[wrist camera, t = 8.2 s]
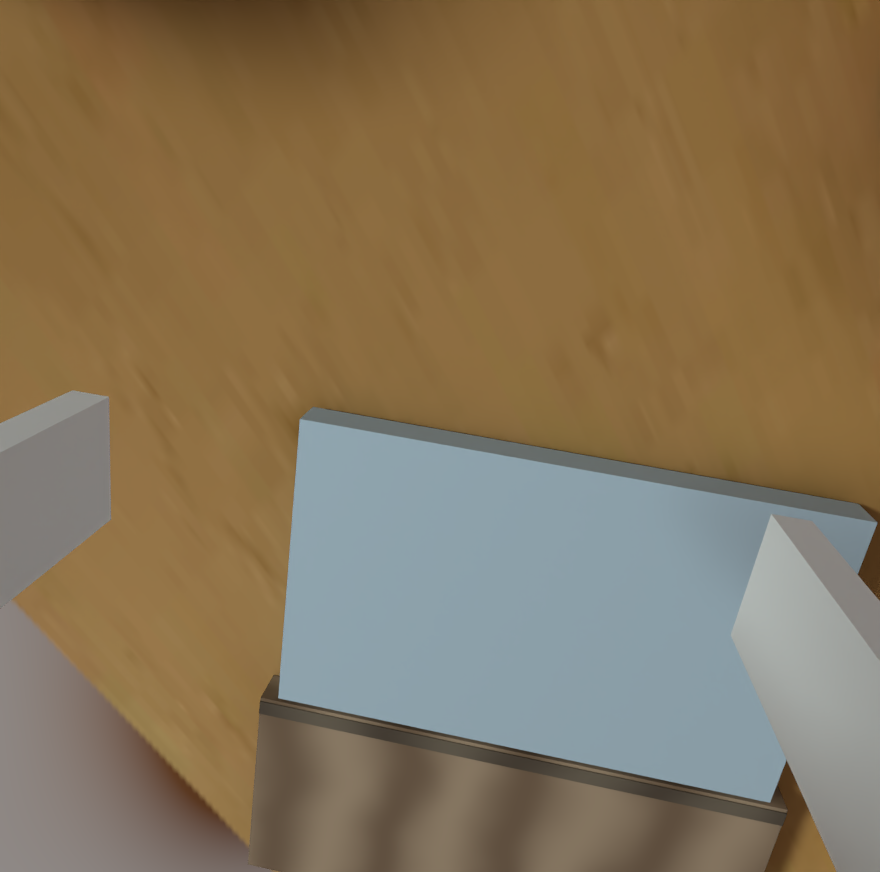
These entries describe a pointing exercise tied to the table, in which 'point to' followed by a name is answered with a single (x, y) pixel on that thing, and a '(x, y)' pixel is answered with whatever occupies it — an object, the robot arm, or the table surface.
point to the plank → (535, 598)
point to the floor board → (476, 805)
